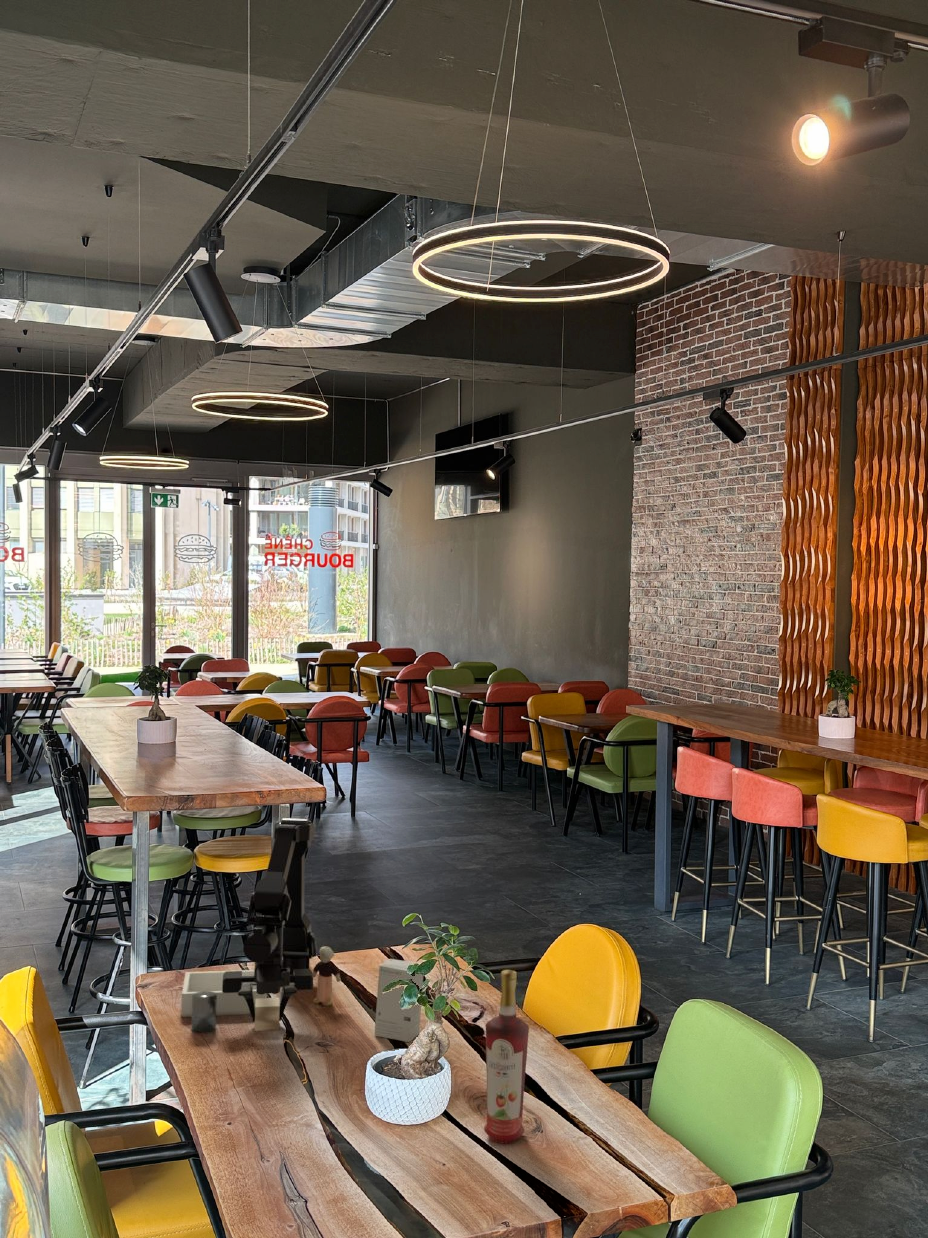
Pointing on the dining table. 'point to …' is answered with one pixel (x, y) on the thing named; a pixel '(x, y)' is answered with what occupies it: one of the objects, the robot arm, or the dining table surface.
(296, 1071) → the dining table surface
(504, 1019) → the liquor
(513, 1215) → the dining table surface
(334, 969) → the grandmother figurine
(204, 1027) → the metal cylinder
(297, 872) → the robot arm
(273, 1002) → the wood cube
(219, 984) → the tote
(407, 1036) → the skincare box
